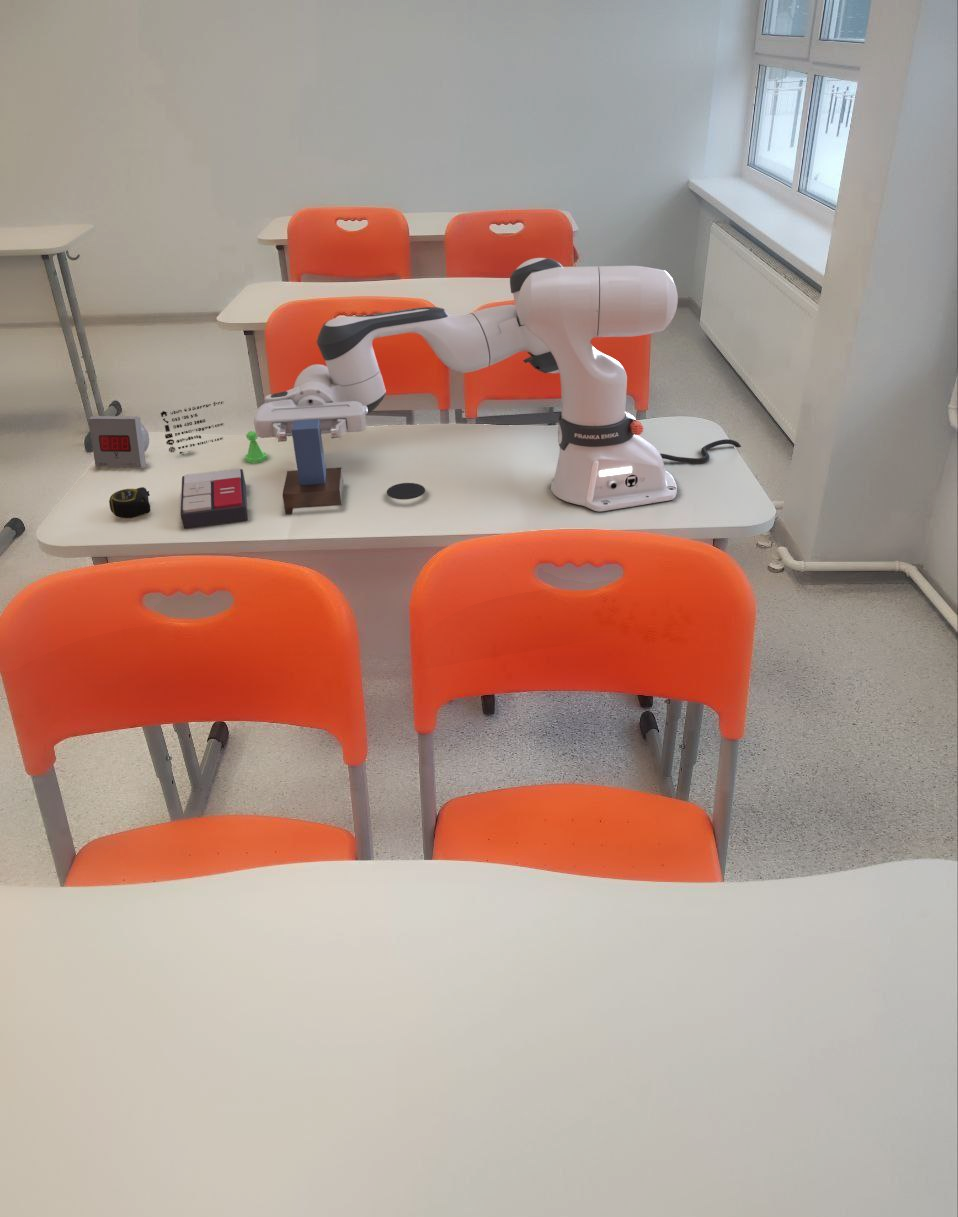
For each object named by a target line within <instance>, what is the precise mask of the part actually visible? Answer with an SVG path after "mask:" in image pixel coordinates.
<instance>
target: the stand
mask: <svg viewBox="0 0 958 1217" xmlns="http://www.w3.org/2000/svg"><path fill="white" fill-rule="evenodd" d="M343 474H344V473H343V467H342V466H341V467H327V468H326V480H325V484H315V485H300V484H299V478H298V471H297V469H294V470H286V474H285V479H284V485H283V490H282V494H281V495H282V500H283V506H284V514H285V515H293V512H294V509H303V508H304V509H305V508H317V507H330V506H332V507H333V506H342V502H343V491H344V475H343Z"/></svg>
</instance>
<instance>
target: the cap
mask: <svg viewBox="0 0 958 1217" xmlns="http://www.w3.org/2000/svg"><path fill="white" fill-rule="evenodd" d="M425 492H426V488H425V487H424V486H423V485H421V484H419V483H415V482H401V483H396V484H394V485H392V486H390V487H389V488H388V489H387V490H386V495H387V496H388V497H390V498H391V499H395V500H403V501H405V500H412V499H416V498H419V497H421V496H422V495H424V494H425Z"/></svg>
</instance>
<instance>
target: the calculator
mask: <svg viewBox="0 0 958 1217" xmlns="http://www.w3.org/2000/svg"><path fill="white" fill-rule="evenodd" d="M246 485H247V484H246V479H245V474H244V469H242V468H239V467H238V468H237V467H236V468H230V469H221V470H214V471H213V470H212V471H206V472H196V473H189V474H188V473H187V474H184V475H182V477H181V494H180V519H181V522H182V527H183V529H185V530H188V529H197V528H203V527H212V526H219V525H220V526H221V525H226V524H234V523H242V522H247V521H249V520H248V519H249V515H248V501H247V500H248V499H247V486H246Z"/></svg>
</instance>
